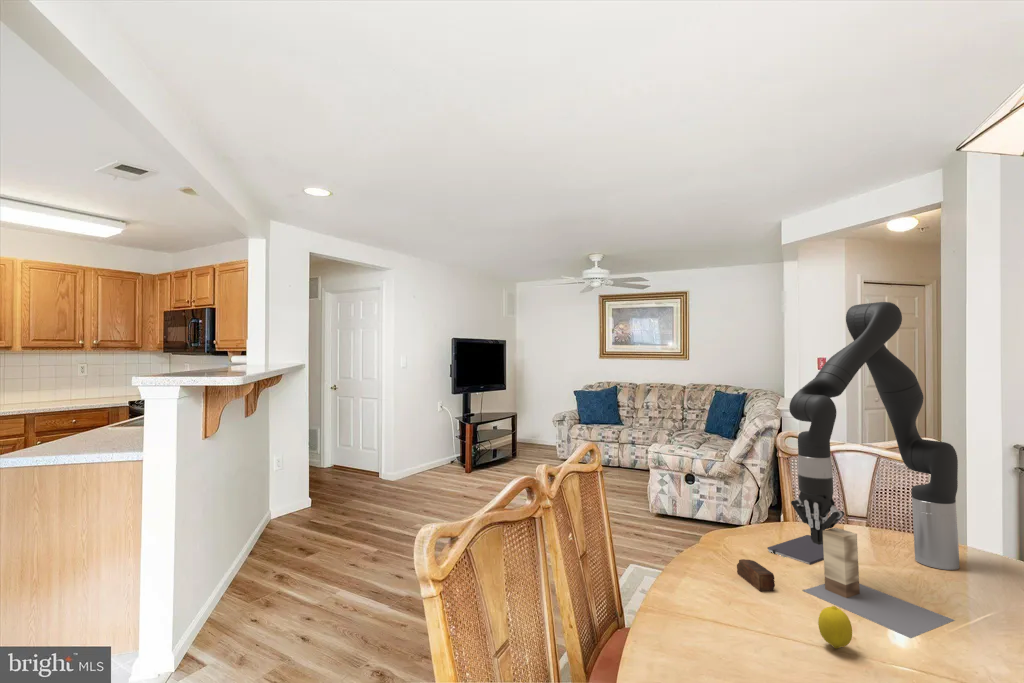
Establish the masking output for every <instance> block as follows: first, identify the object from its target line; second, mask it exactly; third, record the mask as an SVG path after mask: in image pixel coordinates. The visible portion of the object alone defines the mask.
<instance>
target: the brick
mask: <svg viewBox="0 0 1024 683" xmlns="http://www.w3.org/2000/svg"><path fill="white" fill-rule="evenodd" d="M736 572H737V575H739V577H741V579H743V580H745V581H746V582H747V583H748V584H749V585H751V586H752V587H753V588H754V589H756V590H757V591H758V592H760V593H763V592H764V593H766V592H774V590H775V586H776V584H775V575H774V573H773V572H771V571H770V570H768V569H767V568H766V567H764V566H763V565H761V564H760V563H758V562H757V561H755V560H753V559H742V558H741V559H738V563H736Z"/></svg>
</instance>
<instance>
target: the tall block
mask: <svg viewBox="0 0 1024 683" xmlns="http://www.w3.org/2000/svg"><path fill="white" fill-rule="evenodd" d="M858 549H859V547H858V533H855V532H852V531H848V530H845V529H841V528H839V527H833V528H829V529H825V530H823V551H824V560H823V571H824V584H825V589H826V590H828V591H830V592H833V593H835V594H838V595H840V596H842V597H845V598H848V597H851V596H854V595H857V594H860V588H859V584H860V573H859V572H860V570H859V550H858Z"/></svg>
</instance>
